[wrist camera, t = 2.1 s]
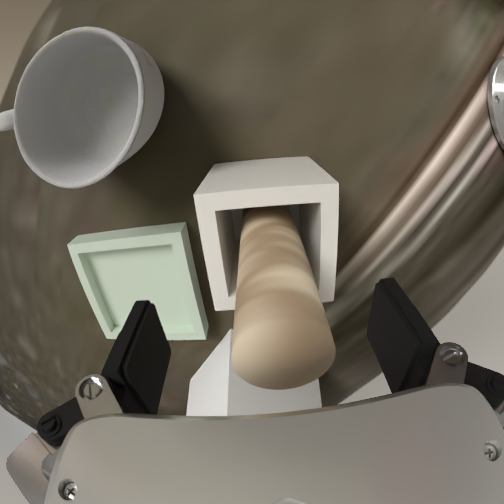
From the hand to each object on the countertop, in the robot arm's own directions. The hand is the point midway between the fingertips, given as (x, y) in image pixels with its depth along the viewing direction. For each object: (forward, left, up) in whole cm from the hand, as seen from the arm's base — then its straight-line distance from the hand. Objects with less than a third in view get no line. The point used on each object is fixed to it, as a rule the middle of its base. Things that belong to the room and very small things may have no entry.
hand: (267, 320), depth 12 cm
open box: (0, 0, -14) cm, 14 cm away
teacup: (+13, -11, -15) cm, 22 cm away
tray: (+13, +7, -14) cm, 20 cm away
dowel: (0, 0, -14) cm, 14 cm away
